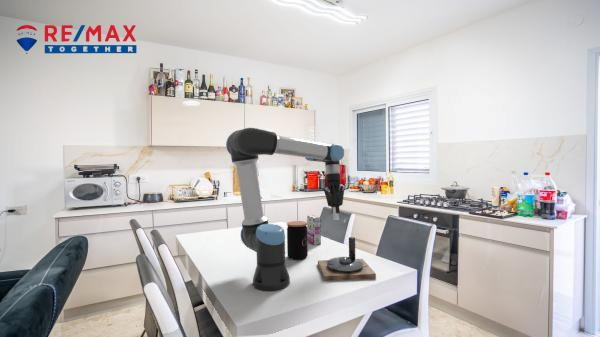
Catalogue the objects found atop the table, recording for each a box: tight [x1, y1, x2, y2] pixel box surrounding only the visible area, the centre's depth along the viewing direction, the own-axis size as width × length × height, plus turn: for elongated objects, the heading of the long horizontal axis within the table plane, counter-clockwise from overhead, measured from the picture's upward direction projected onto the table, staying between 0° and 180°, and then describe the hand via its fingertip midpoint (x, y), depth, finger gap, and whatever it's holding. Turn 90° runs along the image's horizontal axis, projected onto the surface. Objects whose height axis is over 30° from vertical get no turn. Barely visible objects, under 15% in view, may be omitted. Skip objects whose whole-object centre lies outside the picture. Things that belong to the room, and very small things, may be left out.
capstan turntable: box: [327, 236, 363, 273], centre depth 134 cm, size 16×16×12 cm
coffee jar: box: [286, 220, 309, 261], centre depth 155 cm, size 11×11×18 cm
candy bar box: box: [306, 214, 322, 246], centre depth 183 cm, size 11×5×16 cm, turn 21°
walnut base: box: [317, 258, 377, 282], centre depth 134 cm, size 22×20×2 cm
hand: (336, 220), depth 148 cm, fingers closed
